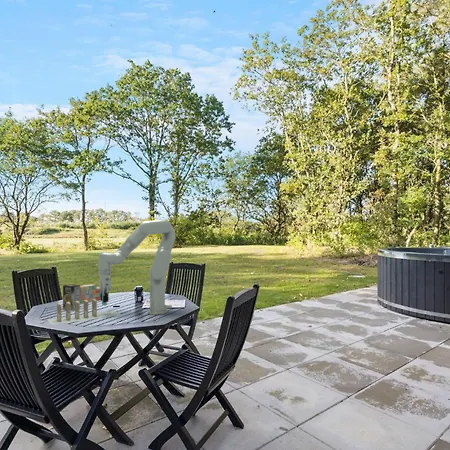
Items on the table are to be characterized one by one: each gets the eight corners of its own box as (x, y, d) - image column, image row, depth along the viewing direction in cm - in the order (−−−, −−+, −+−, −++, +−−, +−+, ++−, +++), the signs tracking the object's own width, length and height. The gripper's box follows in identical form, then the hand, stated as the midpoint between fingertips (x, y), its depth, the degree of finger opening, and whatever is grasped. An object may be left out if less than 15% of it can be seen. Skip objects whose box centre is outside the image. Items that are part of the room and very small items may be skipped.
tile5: (68, 318, 217) (68, 301, 217) (70, 320, 213) (70, 303, 213) (66, 318, 216) (66, 302, 216) (67, 320, 212) (67, 303, 212)
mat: (114, 311, 237) (114, 310, 237) (121, 315, 225) (121, 315, 225) (47, 320, 214) (47, 319, 214) (50, 325, 203) (50, 324, 203)
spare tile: (104, 303, 229) (104, 288, 229) (106, 305, 225) (106, 289, 225) (101, 304, 228) (102, 288, 228) (104, 305, 224) (104, 289, 224)
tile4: (77, 317, 220) (77, 300, 220) (79, 319, 215) (79, 302, 216) (74, 317, 219) (74, 301, 219) (76, 319, 215) (76, 302, 215)
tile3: (86, 316, 222) (86, 299, 222) (88, 317, 218) (88, 301, 218) (83, 316, 222) (83, 300, 222) (85, 318, 217) (85, 301, 217)
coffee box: (62, 309, 242) (62, 285, 242) (69, 307, 248) (69, 284, 248) (73, 310, 239) (73, 286, 239) (80, 308, 245) (80, 284, 245)
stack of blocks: (102, 298, 280) (102, 282, 280) (106, 299, 277) (106, 283, 277) (76, 303, 263) (76, 286, 263) (81, 304, 259) (81, 287, 260)
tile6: (59, 319, 214) (59, 302, 214) (61, 321, 210) (61, 304, 210) (56, 320, 213) (56, 303, 213) (58, 321, 209) (58, 304, 209)
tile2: (94, 315, 225) (94, 298, 225) (96, 316, 221) (96, 300, 221) (92, 315, 224) (91, 299, 224) (94, 317, 220) (94, 300, 220)
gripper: (114, 273, 221) (114, 303, 221) (107, 270, 236) (106, 298, 235) (102, 274, 217) (102, 304, 217) (95, 270, 231) (94, 299, 231)
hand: (104, 300), depth 226 cm, fingers closed on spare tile, 4 cm apart
